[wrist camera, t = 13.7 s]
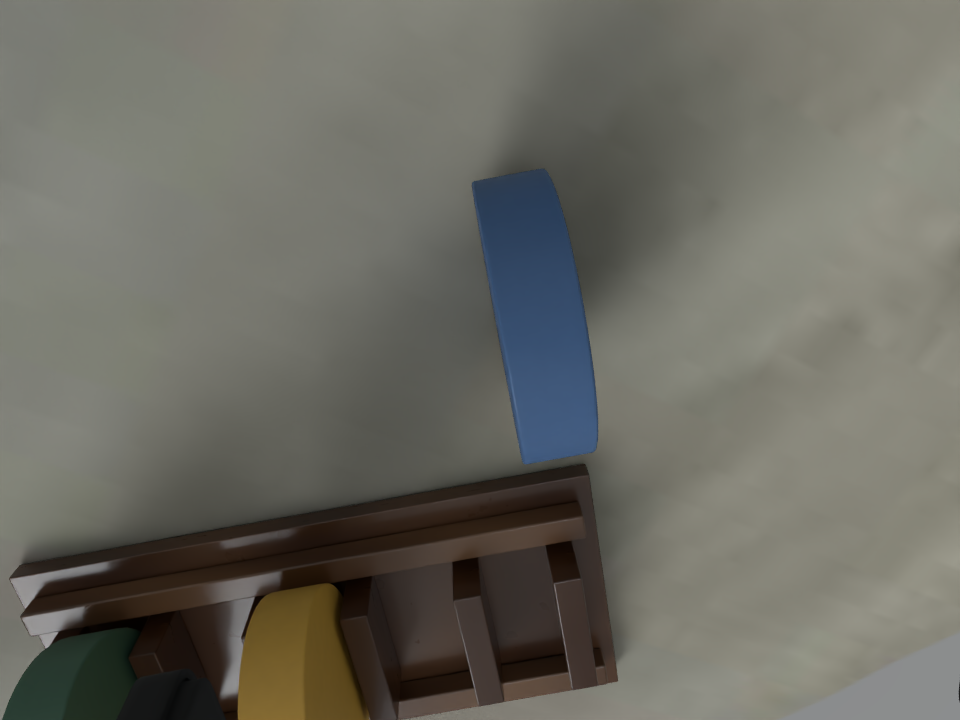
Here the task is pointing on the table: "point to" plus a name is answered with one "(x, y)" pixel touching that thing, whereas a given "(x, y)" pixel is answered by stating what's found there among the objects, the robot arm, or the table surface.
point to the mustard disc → (298, 660)
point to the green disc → (77, 679)
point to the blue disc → (538, 315)
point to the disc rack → (368, 594)
